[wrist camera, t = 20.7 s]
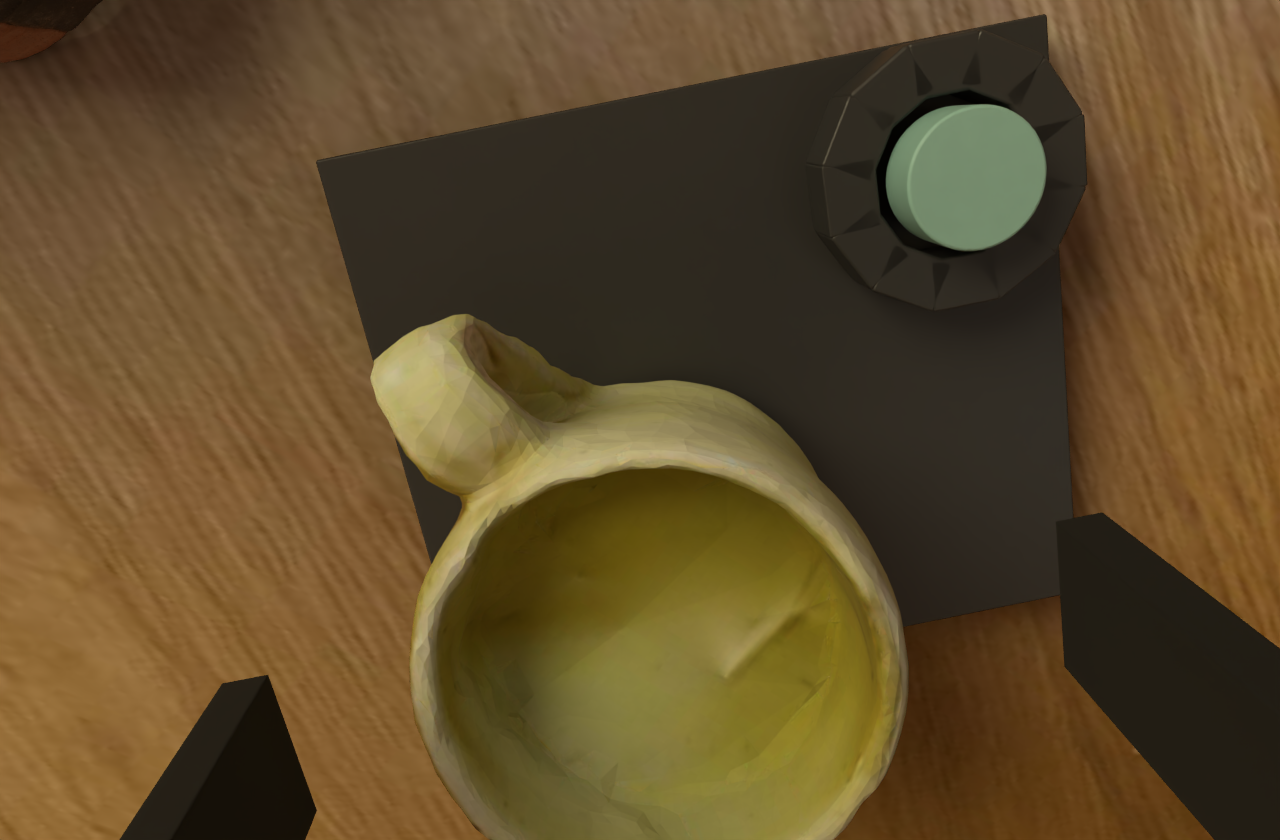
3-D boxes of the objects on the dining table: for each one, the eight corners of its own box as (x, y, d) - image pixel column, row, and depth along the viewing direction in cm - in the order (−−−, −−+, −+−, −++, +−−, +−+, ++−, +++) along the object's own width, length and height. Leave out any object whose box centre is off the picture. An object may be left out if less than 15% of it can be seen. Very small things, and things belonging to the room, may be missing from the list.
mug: (974, 635, 24) (986, 922, 15) (627, 722, 28) (467, 993, 19) (789, 182, 23) (677, 191, 14) (452, 339, 27) (187, 429, 17)
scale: (1020, 20, 23) (1083, 5, 20) (1053, 569, 27) (1109, 621, 25) (330, 158, 23) (294, 163, 20) (479, 685, 27) (467, 751, 25)
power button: (1011, 93, 21) (1044, 91, 19) (1020, 228, 22) (1052, 236, 20) (877, 120, 21) (900, 120, 19) (892, 254, 22) (915, 264, 20)
